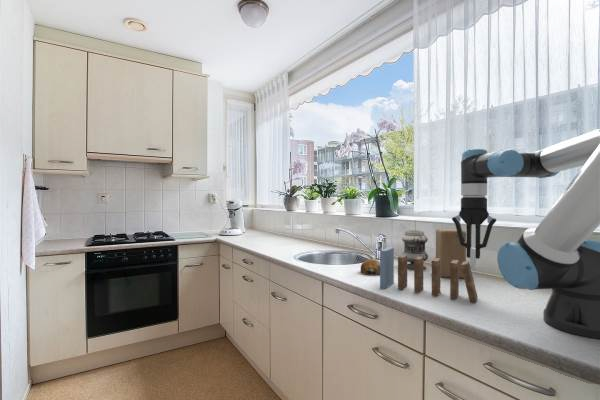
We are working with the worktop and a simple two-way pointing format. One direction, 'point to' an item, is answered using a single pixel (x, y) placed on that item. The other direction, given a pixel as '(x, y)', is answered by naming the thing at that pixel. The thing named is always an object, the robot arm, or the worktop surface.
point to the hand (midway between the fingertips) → (473, 267)
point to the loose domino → (469, 281)
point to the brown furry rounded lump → (370, 267)
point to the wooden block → (449, 250)
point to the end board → (386, 267)
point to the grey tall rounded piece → (414, 246)
